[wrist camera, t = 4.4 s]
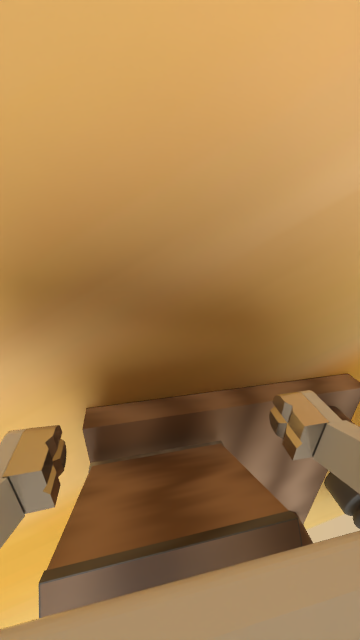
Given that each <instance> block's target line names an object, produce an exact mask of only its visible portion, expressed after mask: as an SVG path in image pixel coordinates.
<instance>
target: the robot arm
mask: <svg viewBox="0 0 360 640" xmlns="http://www.w3.org/2000/svg"><path fill="white" fill-rule="evenodd" d="M272 403H273V404H274V407H273V408H272V409H271V410H270V414H269V420H270V425H271V427H272V429H273V431H274V433H275V434H276V435H277V436H279V437H280V438H282V439H283V440H282V445H283V446H284V448H285V450H286V451H287V453H288V454H289V456H290V457H291V459H292V460H299V459H305V458H311V457H313V459H314V460H316V461H317V462H318V463H319V464H321V465H322V466H323V467H325V468H326V469H327V470H329V471H330V472H331V473H333V474H334V475H335V476H337V477H338V478H339V479H340V480H342V481H343V482H344V483H346V484H347V485H348V486H350V487H351V488H352V489H354V490H355V491H356V492H358V493H359V494H360V427H359V426H357V425H355V424H353V423H351V422H349V421H347V420H344V421H342V420H341V419H340V418H339V417H338V416H337V415H336V414H335V413H334V412H333V411H332V410H331V409H330V408H329V407H328V406H327V405H326V404H325V403H324V402H323V401H322V400H321V399H320V398H319V397H318V396H317V395H316V394H315V393H314V392H313V391H311V390H307V391H300V392H292V393H286V394H279V395H276V396H275V397H274V398H273V402H272ZM61 434H62V430H61V427H60V426H59V425H55V426H46V427H37V428H28V429H22V430H13V431H9V432H8V433H7V434H6V435H5V436H4V438H3V440H2V442H1V443H0V548H1V547H2V546H3V544H4V543H5V542H6V540H7V539H8V538H9V536H10V535H11V534H12V532H13V531H14V530H15V528H16V527H17V526H18V524H19V523H20V522H21V520H22V519H23V518H24V516H25V515H24V514H27V513H31V512H35V511H40V510H44V509H49V508H53V507H55V505H56V501H57V496H58V492H59V488H60V482H59V479H58V477H59V476H60V475H61V473H62V472H63V471H64V467H65V463H66V445H65V441H63V440H62V439H60V438H61ZM0 640H360V531H357V532H353V533H349V534H346V535H342V536H339V537H335V538H331V539H328V540H324V541H320V542H317V543H313V544H309V545H306V546H302V547H298V548H295V549H291V550H287V551H284V552H280V553H276V554H273V555H269V556H265V557H262V558H258V559H254V560H251V561H247V562H244V563H240V564H236V565H233V566H229V567H225V568H222V569H218V570H214V571H211V572H207V573H203V574H200V575H196V576H192V577H189V578H185V579H181V580H178V581H174V582H171V583H167V584H163V585H160V586H156V587H152V588H149V589H145V590H141V591H138V592H134V593H130V594H127V595H123V596H119V597H116V598H112V599H108V600H105V601H101V602H98V603H94V604H90V605H87V606H83V607H79V608H76V609H72V610H68V611H65V612H61V613H57V614H54V615H50V616H46V617H43V618H39V619H36V620H32V621H28V622H25V623H21V624H17V625H14V626H10V627H6V628H3V629H0Z"/></svg>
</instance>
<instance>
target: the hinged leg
mask: <svg viewBox="0 0 360 640" xmlns="http://www.w3.org/2000/svg"><path fill="white" fill-rule="evenodd" d="M298 547H302V540H301V533H300V527H299V521H298V517H297V516H296V515H295V514H294V513H293V512H292V511H291V510H290V511H289V510H288V509H287V508H286V507H285V506H284V505H283V504H282V503H281V502H280V501H279V500H278V499H277V498H276V497H275V496H274V495H272V494H271V493H270V492H269V491H268V490H267V489H266V488H265V487H264V486H263V485H262V484H261V483H260V482H259V481H258V480H257V479H256V478H255V477H254V476H253V475H252V474H251V473H250V472H249V471H248V470H247V469H246V468H245V467H244V466H243V465H242V464H241V463H240V462H239V461H238V460H237V459H236V458H235V457H234V456H233V455H232V454H231V453H230V452H229V451H228V450H227V449H226V448H225V447H224V444H223V443H222V441H221V440H219V441H213V442H208V443H202V444H196V445H190V446H185V447H179V448H173V449H167V450H162V451H156V452H150V453H144V454H139V455H133V456H127V457H121V458H116V459H110V460H104V461H98V462H93V463H91V464H90V467H89V474H88V476H87V479H86V481H85V483H84V486H83V488H82V490H81V492H80V495H79V497H78V499H77V502H76V504H75V506H74V509H73V511H72V513H71V515H70V518H69V520H68V522H67V525H66V527H65V529H64V531H63V534H62V536H61V538H60V541H59V543H58V545H57V548H56V550H55V552H54V554H53V557H52V559H51V561H50V564H49V566H48V568H47V570H46V571H44V573H43V575H42V577H41V579H40V582H39V618H43V617H46V616H50V615H54V614H57V613H61V612H65V611H68V610H72V609H76V608H79V607H83V606H87V605H90V604H94V603H98V602H101V601H105V600H108V599H112V598H116V597H119V596H123V595H127V594H130V593H134V592H138V591H141V590H145V589H149V588H152V587H156V586H160V585H163V584H167V583H171V582H174V581H178V580H181V579H185V578H189V577H192V576H196V575H200V574H203V573H207V572H211V571H214V570H218V569H222V568H225V567H229V566H233V565H236V564H240V563H244V562H247V561H251V560H254V559H258V558H262V557H265V556H269V555H273V554H276V553H280V552H284V551H287V550H291V549H295V548H298Z"/></svg>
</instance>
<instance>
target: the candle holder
mask: <svg viewBox="0 0 360 640" xmlns="http://www.w3.org/2000/svg"><path fill="white" fill-rule="evenodd" d="M325 486H326V488H327V489H328V491H329V492H330V493H331V495H332V496H333V498H334V499H335V500H336V502H337V503H338V505H339V506H340V508H341V509H342V510H343V512H344V513H345V514H347V515H350V516H353V520H354V524H355V525H356V526H357V527H358V528H360V496H359V494H358V493H357V492H356V491H355V490H354V489H352V488H351V487H350V486H348V485H347V484H346V483H344V482H343V481H342V480H340V479H339V478H338V477H337V476H335V475H334V474H333V473H330V474H329V475H328V476H327V477H326V480H325Z"/></svg>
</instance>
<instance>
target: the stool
mask: <svg viewBox="0 0 360 640" xmlns="http://www.w3.org/2000/svg"><path fill="white" fill-rule="evenodd" d="M307 390H311V391H313V392H314V393H315V394H316V395H317V396H318V397H319V398H320V399H321V400H322V401H323V402H324V403H325V404H326V405H327V406H328V407H329V408H330V409H331V410H332V411H333V412H334V413H335V414H336V415H337V416H338V417H339V418H340V419H341V420H342V421H344V420H347V421H349V422H351V423H353V422H352V421H351V419H352V416H353V414H354V412H355V410H356V408H357V405H358V403H359V401H360V382H358V381H357V380H356V379H354V378H353V377H352V376H350V375H349V374H343V375H335V376H328V377H320V378H313V379H305V380H298V381H290V382H283V383H275V384H268V385H260V386H253V387H245V388H238V389H230V390H222V391H215V392H207V393H200V394H192V395H185V396H177V397H170V398H162V399H155V400H147V401H140V402H132V403H125V404H117V405H110V406H102V407H95V408H87V409H86V414H85V419H84V424H83V433H84V438H85V442H86V446H87V451H88V455H89V460H90V464H91V463H93V462H98V461H104V460H110V459H116V458H121V457H127V456H133V455H139V454H144V453H150V452H156V451H162V450H167V449H173V448H179V447H185V446H190V445H196V444H202V443H208V442H213V441H219V440H221V441H222V443H223V444H224V447H225V448H226V449H227V450H228V451H229V452H230V453H231V454H232V455H233V456H234V457H235V458H236V459H237V460H238V461H239V462H240V463H241V464H242V465H243V466H244V467H245V468H246V469H247V470H248V471H249V472H250V473H251V474H252V475H253V476H254V477H255V478H256V479H257V480H258V481H259V482H260V483H261V484H262V485H263V486H264V487H265V488H266V489H267V490H268V491H269V492H270V493H271V494H272V495H274V496H275V497H276V498H277V499H278V500H279V501H280V502H281V503H282V504H283V505H284V506H285V507H286V508H287V509H288V510H289V511H290V510H291V511H292V512H293V513H294V514H295V515H296V516H297V517H298V521H299V527H300V533H301V540H302V546H306V545H309V544H313V542H312V540H311V538H310V537H309V535H308V533H307V531H306V529H305V527H304V526H303V524H304V521H305V519H306V517H307V515H308V513H309V510H310V508H311V506H312V504H313V502H314V499H315V497H316V495H317V493H318V491H319V489H320V486H321V484H322V482H323V480H324V478H325V475H326V473H327V471H328V470H327V469H326V468H325V467H323V466H322V465H321V464H319V463H318V462H317V461H316V460H314V459H313V457H311V458H305V459H299V460H292V459H291V457H290V456H289V454H288V453H287V451H286V450H285V448H284V446H283V445H282V440H283V439H282V438H280V437H279V436H277V435H276V434H275V433H274V431H273V429H272V427H271V425H270V420H269V414H270V410H271V409H272V408H273V407H274V404H273V403H272V402H273V398H274V397H275V396H276V395H279V394H286V393H292V392H300V391H307ZM353 424H354V423H353ZM357 493H358V492H357ZM358 494H359V493H358ZM359 496H360V494H359Z"/></svg>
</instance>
